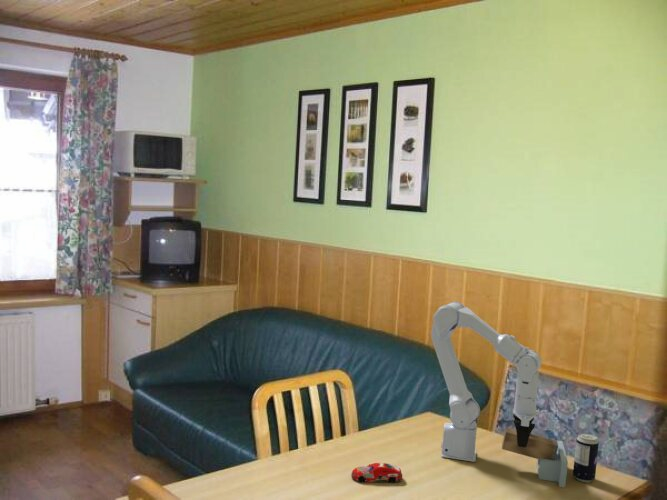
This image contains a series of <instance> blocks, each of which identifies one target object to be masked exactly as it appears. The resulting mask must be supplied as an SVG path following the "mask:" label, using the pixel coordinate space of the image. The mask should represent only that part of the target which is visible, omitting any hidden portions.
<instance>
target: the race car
mask: <svg viewBox="0 0 667 500" xmlns="http://www.w3.org/2000/svg"><path fill="white" fill-rule="evenodd" d="M350 474H351V478H352V479H353V480H355V481H356V482H359V483H365V482H366V483H389V484H395V483H398V482H401V481H402V480H403V473H402V470H401V468H400V467H399V466H397V465H393V464H391V463H386V462H385V463H384V462H373V463H371V464H370V463H369V464H368V465H364V466H358V467H355V468H353V470H352V471H351V473H350Z"/></svg>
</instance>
